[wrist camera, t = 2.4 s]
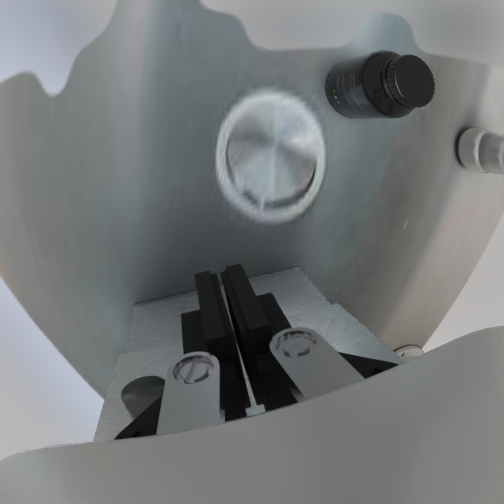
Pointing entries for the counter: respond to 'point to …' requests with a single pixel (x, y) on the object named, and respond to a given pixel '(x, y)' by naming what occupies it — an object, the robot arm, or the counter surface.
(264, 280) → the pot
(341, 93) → the supplement bottle
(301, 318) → the lid
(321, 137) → the counter surface
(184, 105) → the counter surface
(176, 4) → the counter surface
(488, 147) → the plastic bottle
